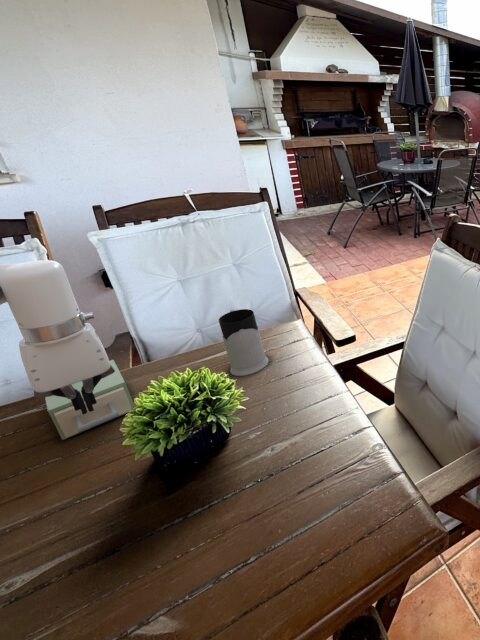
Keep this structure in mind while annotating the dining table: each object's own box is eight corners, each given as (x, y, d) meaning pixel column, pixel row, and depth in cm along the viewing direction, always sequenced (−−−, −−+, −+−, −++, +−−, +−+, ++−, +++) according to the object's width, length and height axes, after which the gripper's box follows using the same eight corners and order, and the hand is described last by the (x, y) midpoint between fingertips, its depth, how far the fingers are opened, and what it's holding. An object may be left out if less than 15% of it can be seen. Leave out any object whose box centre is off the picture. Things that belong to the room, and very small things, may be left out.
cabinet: (136, 409, 91) (124, 382, 88) (62, 440, 83) (47, 410, 80) (123, 385, 99) (113, 359, 96) (55, 411, 91) (42, 383, 88)
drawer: (138, 422, 86) (129, 400, 84) (69, 452, 78) (57, 429, 76) (121, 387, 97) (113, 367, 95) (59, 410, 89) (48, 389, 87)
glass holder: (233, 380, 101) (218, 328, 96) (224, 356, 111) (209, 308, 105) (272, 366, 106) (259, 316, 101) (259, 344, 116) (248, 298, 111)
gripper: (106, 307, 80) (133, 383, 86) (-12, 336, 69) (28, 421, 75) (114, 319, 76) (141, 398, 82) (-12, 352, 65) (31, 441, 71)
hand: (87, 409), depth 79 cm, fingers closed
